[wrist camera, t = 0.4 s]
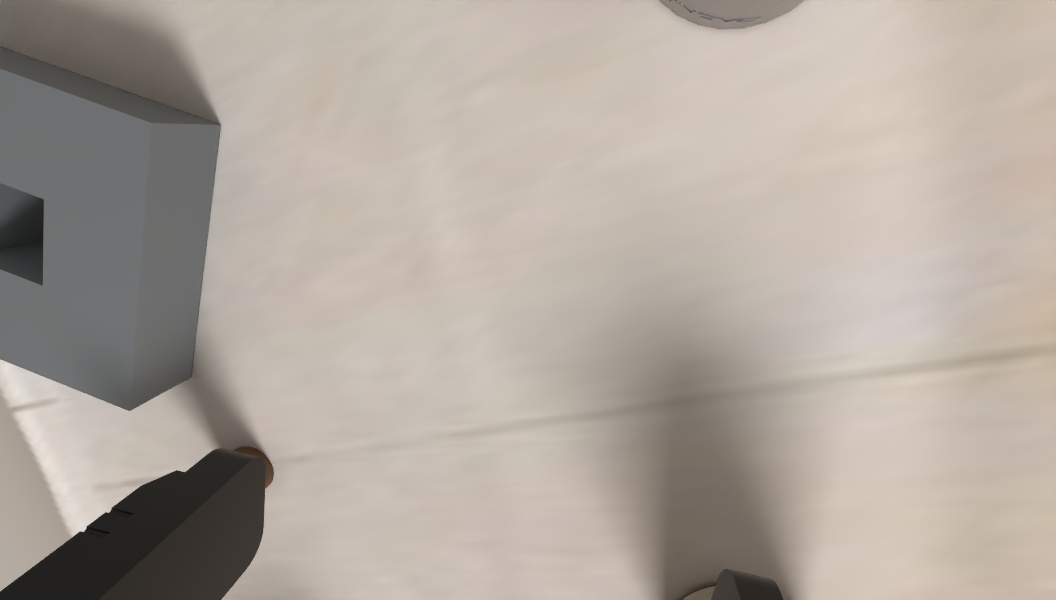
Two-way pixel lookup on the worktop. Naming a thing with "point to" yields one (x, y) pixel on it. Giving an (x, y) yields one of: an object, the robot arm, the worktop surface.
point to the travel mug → (701, 594)
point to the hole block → (100, 232)
